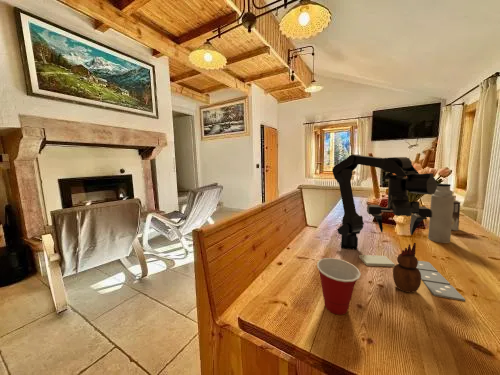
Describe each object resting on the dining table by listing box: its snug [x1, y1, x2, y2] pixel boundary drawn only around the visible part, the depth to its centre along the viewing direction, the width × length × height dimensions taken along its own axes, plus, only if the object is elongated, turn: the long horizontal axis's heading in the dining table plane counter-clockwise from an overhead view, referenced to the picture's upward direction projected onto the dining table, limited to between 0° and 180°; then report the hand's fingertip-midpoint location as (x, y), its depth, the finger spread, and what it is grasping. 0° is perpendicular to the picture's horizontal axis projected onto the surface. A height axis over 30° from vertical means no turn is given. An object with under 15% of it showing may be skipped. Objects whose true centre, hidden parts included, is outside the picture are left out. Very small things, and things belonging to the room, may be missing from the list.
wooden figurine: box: [392, 242, 422, 293], centre depth 61 cm, size 7×6×15 cm
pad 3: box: [423, 281, 466, 302], centre depth 61 cm, size 7×7×1 cm
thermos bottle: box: [427, 183, 455, 244], centre depth 98 cm, size 8×8×28 cm
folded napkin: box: [358, 254, 396, 268], centre depth 80 cm, size 10×7×1 cm
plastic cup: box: [316, 257, 362, 316], centre depth 54 cm, size 11×11×12 cm
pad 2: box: [419, 270, 451, 285], centre depth 68 cm, size 7×7×1 cm
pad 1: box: [416, 260, 439, 272], centre depth 75 cm, size 7×7×1 cm
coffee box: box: [451, 200, 461, 231], centre depth 115 cm, size 9×6×16 cm
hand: (396, 233), depth 74 cm, fingers open, 9 cm apart
